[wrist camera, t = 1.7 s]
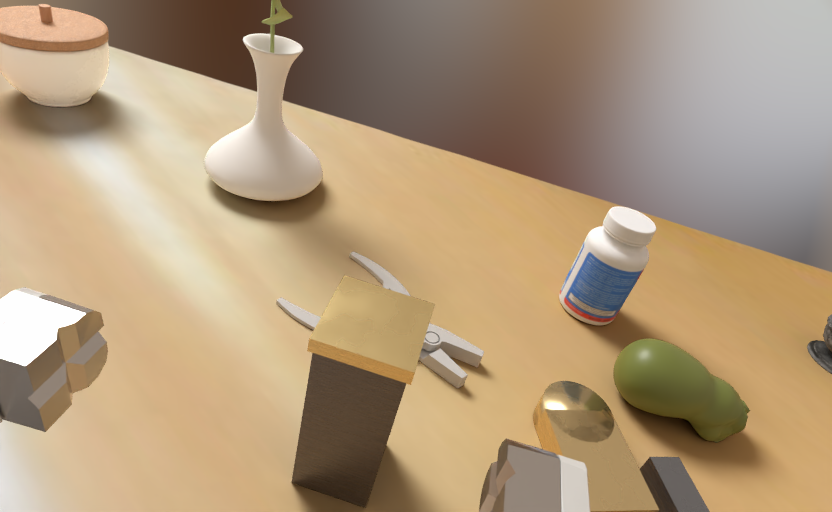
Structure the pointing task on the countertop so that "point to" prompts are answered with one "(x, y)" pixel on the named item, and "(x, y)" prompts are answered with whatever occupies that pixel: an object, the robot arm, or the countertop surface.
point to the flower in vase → (266, 131)
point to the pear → (678, 388)
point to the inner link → (592, 447)
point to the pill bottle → (607, 266)
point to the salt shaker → (823, 348)
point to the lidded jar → (53, 54)
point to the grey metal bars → (671, 485)
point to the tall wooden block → (356, 386)
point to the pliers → (436, 340)
